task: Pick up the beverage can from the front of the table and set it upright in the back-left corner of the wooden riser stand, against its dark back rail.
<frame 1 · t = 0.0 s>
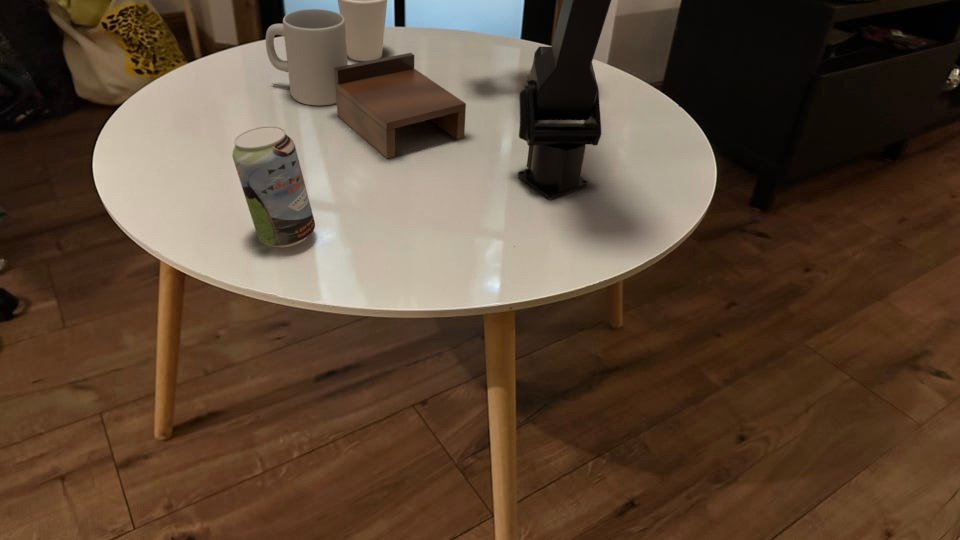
person figure: (542, 98, 106), on the table
mug: (309, 92, 103), on the table
dixie cup: (364, 55, 115), on the table
beverage can: (282, 238, 74), on the table
wooden riser stand: (399, 126, 96), on the table
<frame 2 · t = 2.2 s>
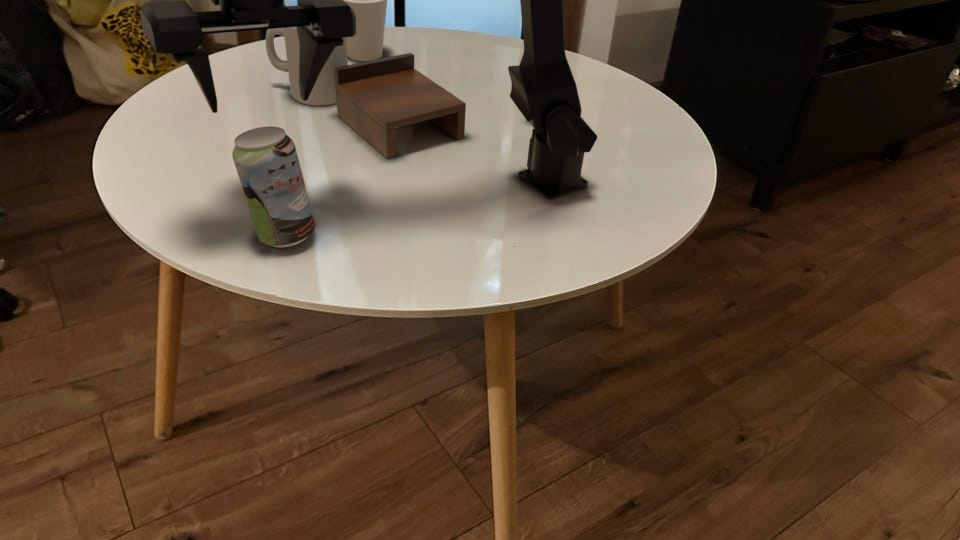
hand: (260, 104, 71), 13 cm above the table, tool pointing down, fingers open, 9 cm apart
nothing on the table moved.
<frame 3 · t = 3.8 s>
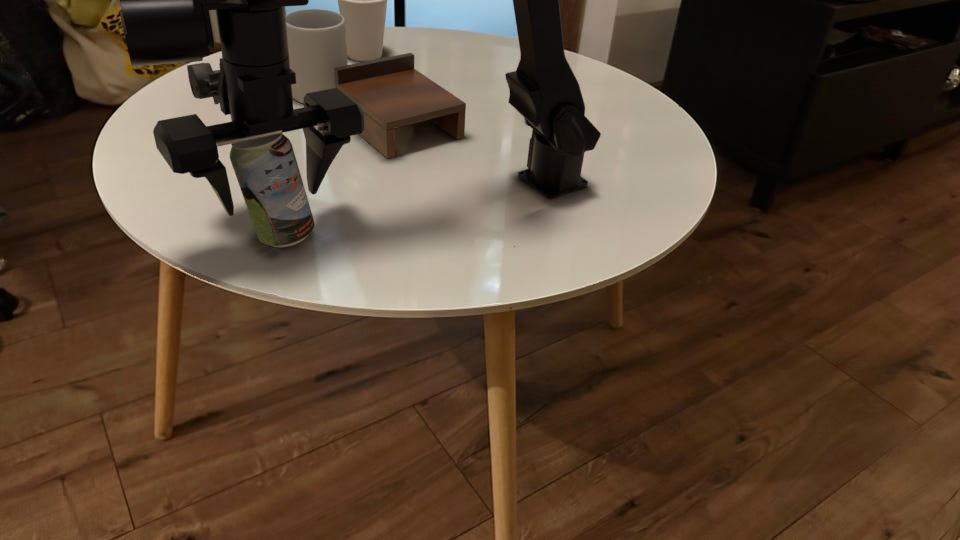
hand: (272, 202, 71), 4 cm above the table, tool pointing down
beverage can: (282, 237, 74), on the table, touching gripper
everything else where it was.
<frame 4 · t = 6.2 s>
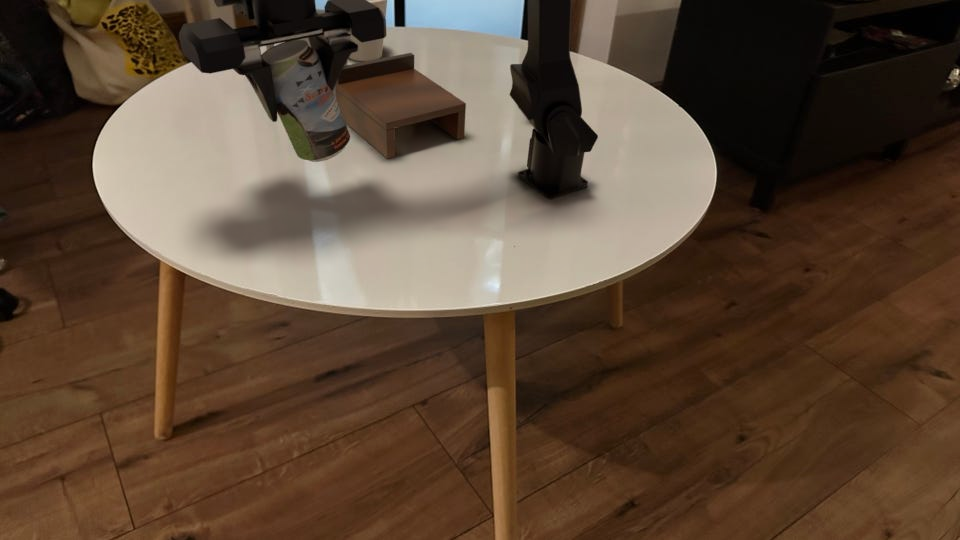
hand: (298, 114, 72), 12 cm above the table, tool pointing down, fingers closed on beverage can, 5 cm apart
beverage can: (320, 153, 76), point 6 cm above the table, touching gripper
everything else where it was.
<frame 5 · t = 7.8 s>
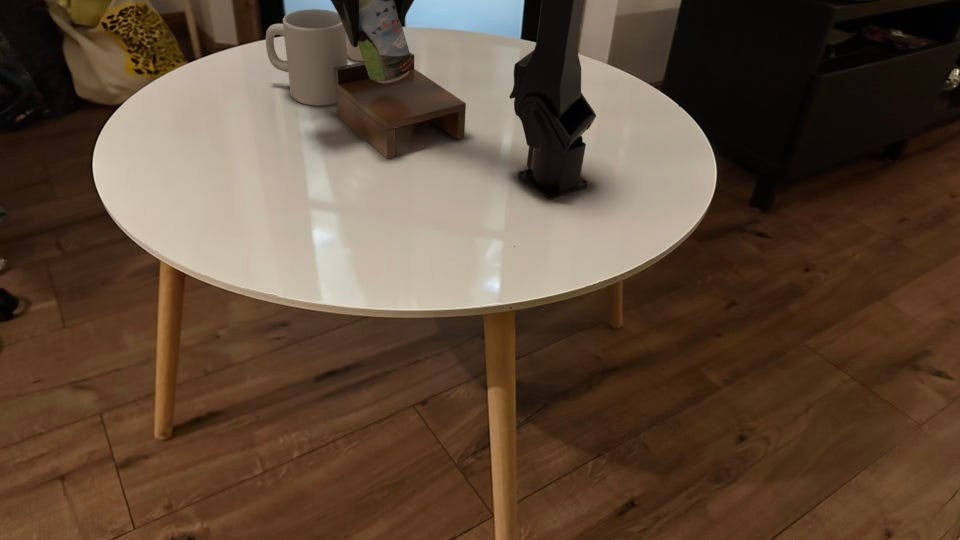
hand: (373, 42, 88), 12 cm above the table, tool pointing down, fingers closed on beverage can, 5 cm apart
beverage can: (387, 78, 92), point 7 cm above the table, touching gripper
everything else where it was.
when the fingers open (10 cm above the table, at t = 8.7 s): beverage can stays where it is, resting on wooden riser stand.
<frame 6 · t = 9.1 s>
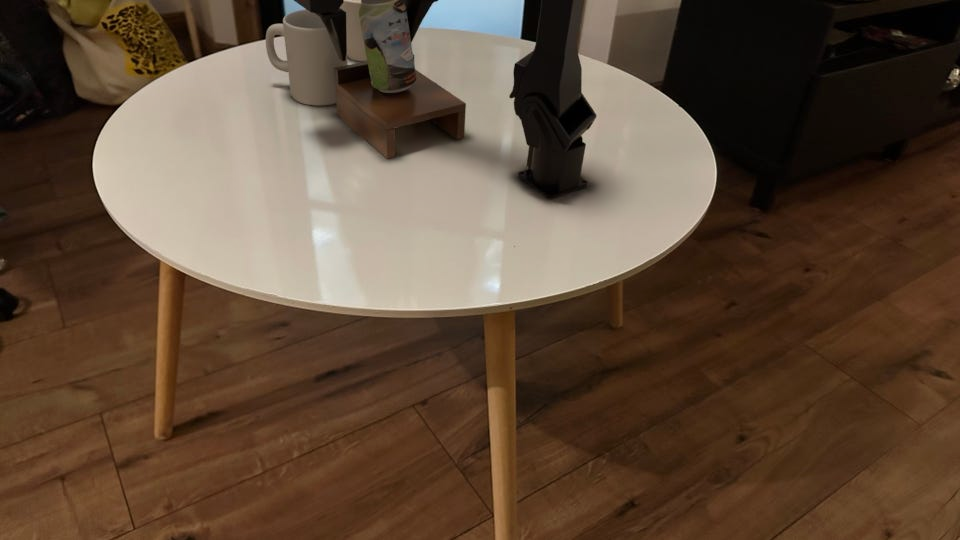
hand: (374, 53, 90), 10 cm above the table, tool pointing down, fingers open, 9 cm apart
beverage can: (389, 89, 94), point 5 cm above the table, touching wooden riser stand
everything else where it was.
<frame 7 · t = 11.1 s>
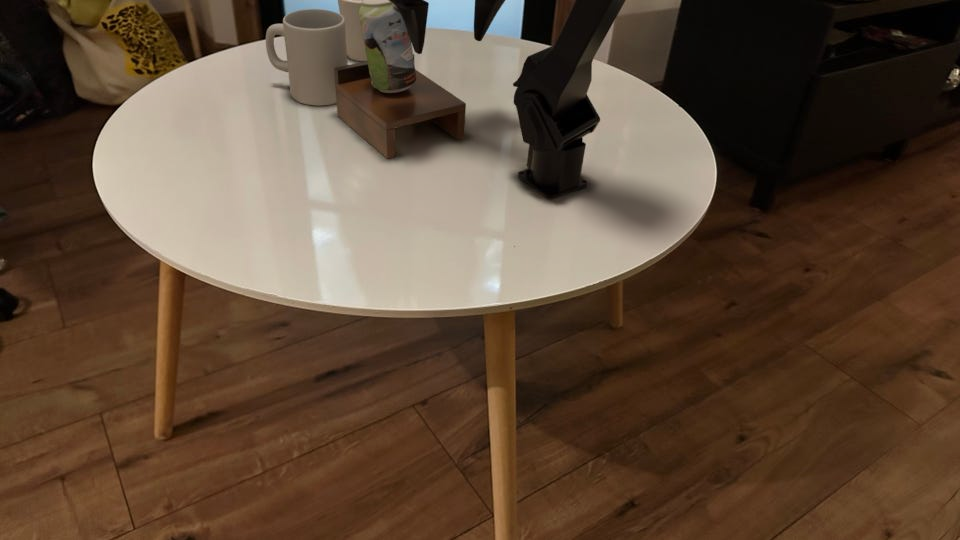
hand: (448, 46, 88), 12 cm above the table, tool pointing down, fingers open, 9 cm apart
nothing on the table moved.
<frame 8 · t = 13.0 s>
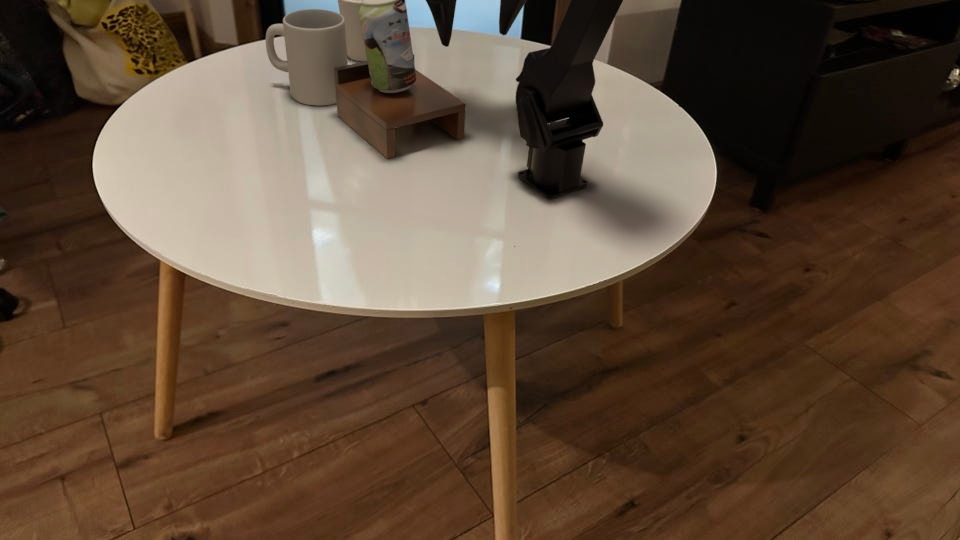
hand: (474, 39, 90), 12 cm above the table, tool pointing down, fingers open, 9 cm apart
nothing on the table moved.
at the end: beverage can 2.5 cm from the target spot on the wooden riser stand, point 4.8 cm above the wooden riser stand's base; beverage can tilted 0°; the gripper is holding nothing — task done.
